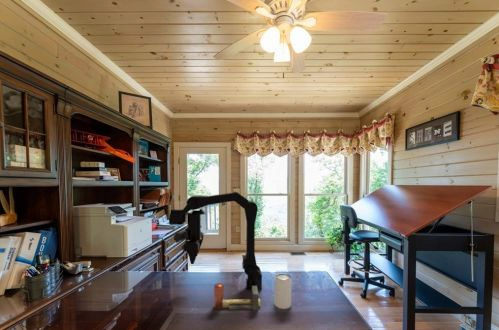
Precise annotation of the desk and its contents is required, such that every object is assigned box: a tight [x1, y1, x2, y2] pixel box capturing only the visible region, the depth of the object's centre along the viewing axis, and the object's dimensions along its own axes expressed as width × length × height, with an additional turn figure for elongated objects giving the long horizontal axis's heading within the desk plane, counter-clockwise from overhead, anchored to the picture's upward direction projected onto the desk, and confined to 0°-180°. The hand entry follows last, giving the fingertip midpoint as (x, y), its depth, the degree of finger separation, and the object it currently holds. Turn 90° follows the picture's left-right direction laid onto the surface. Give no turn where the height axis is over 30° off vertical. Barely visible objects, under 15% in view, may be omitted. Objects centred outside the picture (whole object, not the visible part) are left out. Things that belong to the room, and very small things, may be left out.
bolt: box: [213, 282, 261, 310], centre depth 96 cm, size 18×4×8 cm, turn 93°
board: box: [228, 286, 259, 312], centre depth 96 cm, size 27×11×7 cm, turn 93°
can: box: [273, 273, 292, 310], centre depth 98 cm, size 6×6×12 cm
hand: (194, 260), depth 109 cm, fingers open, 9 cm apart
